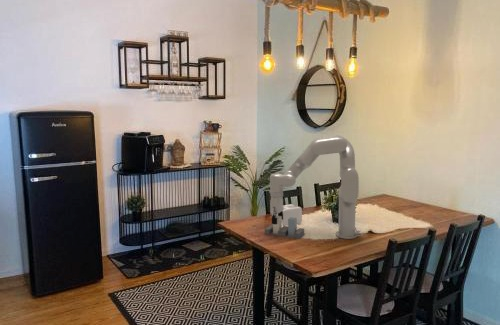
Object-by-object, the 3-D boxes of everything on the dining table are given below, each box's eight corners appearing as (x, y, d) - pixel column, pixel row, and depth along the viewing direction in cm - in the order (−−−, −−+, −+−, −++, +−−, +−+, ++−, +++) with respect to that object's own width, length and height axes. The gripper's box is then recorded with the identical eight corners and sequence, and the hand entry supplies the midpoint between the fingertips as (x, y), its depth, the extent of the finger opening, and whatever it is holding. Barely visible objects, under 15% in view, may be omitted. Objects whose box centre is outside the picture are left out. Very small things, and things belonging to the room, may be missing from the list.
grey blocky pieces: (305, 235, 234) (305, 228, 234) (300, 240, 225) (300, 234, 225) (270, 230, 244) (270, 224, 244) (263, 235, 236) (263, 228, 235)
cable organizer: (282, 227, 249) (282, 210, 247) (274, 223, 258) (274, 206, 257) (302, 224, 256) (302, 206, 254) (293, 220, 265) (293, 203, 263)
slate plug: (296, 234, 234) (296, 218, 232) (294, 236, 230) (294, 219, 228) (290, 233, 235) (290, 217, 234) (288, 235, 232) (288, 219, 230)
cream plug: (275, 231, 239) (275, 215, 238) (281, 232, 238) (281, 216, 236) (273, 233, 236) (272, 217, 234) (279, 234, 234) (279, 218, 233)
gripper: (276, 190, 243) (277, 217, 245) (265, 197, 227) (266, 225, 230) (287, 191, 239) (288, 218, 242) (277, 197, 224) (278, 226, 227)
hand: (277, 221), depth 236 cm, fingers open, 9 cm apart
